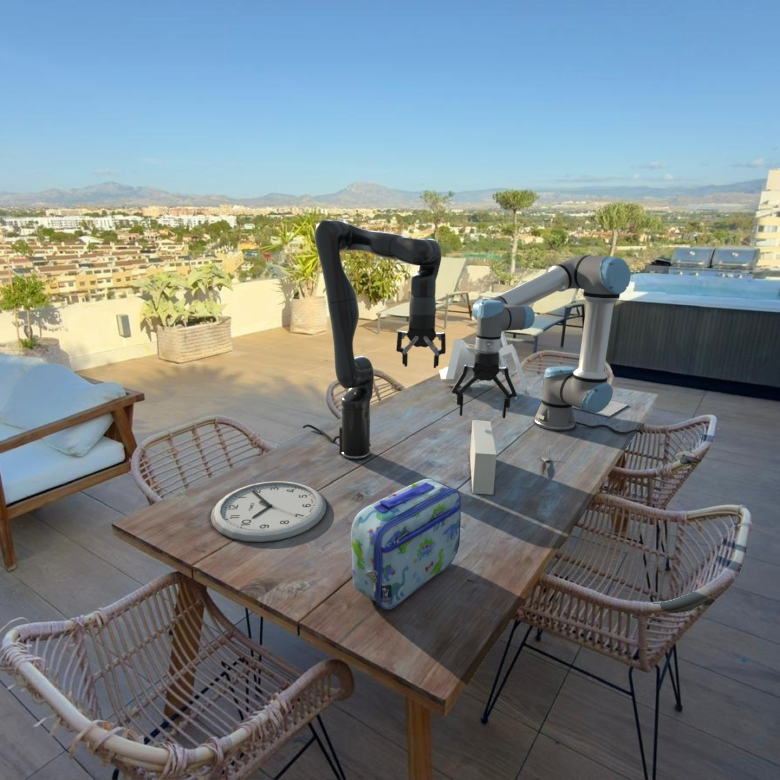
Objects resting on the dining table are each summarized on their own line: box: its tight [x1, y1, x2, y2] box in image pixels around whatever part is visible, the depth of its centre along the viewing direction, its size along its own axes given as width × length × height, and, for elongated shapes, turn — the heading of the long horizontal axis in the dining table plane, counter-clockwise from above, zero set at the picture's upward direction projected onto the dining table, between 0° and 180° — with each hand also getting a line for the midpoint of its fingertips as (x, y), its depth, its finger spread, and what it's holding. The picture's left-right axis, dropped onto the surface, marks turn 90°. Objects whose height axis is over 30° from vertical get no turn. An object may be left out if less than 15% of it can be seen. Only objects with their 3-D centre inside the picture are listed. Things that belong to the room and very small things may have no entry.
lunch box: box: [350, 478, 462, 611], centre depth 110 cm, size 26×11×21 cm, turn 135°
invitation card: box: [573, 400, 629, 418], centre depth 226 cm, size 21×1×15 cm
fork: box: [541, 449, 551, 474], centre depth 169 cm, size 3×16×2 cm, turn 160°
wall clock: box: [210, 480, 327, 543], centre depth 140 cm, size 30×2×30 cm
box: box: [469, 419, 498, 496], centre depth 161 cm, size 27×6×13 cm, turn 173°
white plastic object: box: [438, 331, 531, 400], centre depth 245 cm, size 37×45×31 cm
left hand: (420, 366), depth 154 cm, fingers open, 8 cm apart
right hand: (482, 415), depth 168 cm, fingers open, 13 cm apart
